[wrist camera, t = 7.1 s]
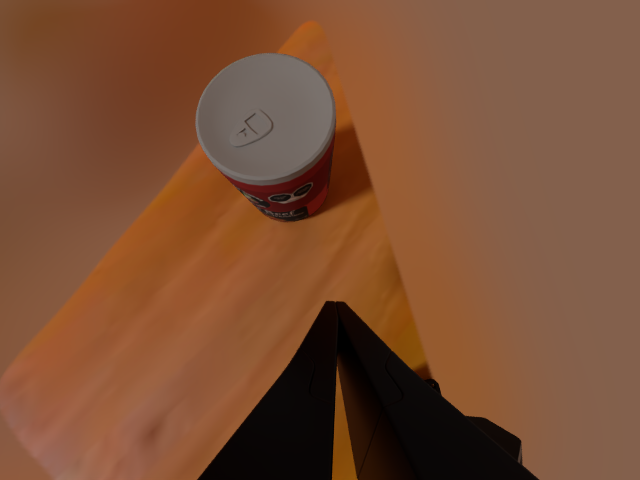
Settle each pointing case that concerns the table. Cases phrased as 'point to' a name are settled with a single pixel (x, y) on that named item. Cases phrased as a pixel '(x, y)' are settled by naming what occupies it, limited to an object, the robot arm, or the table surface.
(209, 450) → the table surface
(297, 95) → the canned food
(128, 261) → the table surface
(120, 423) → the table surface
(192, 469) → the table surface
